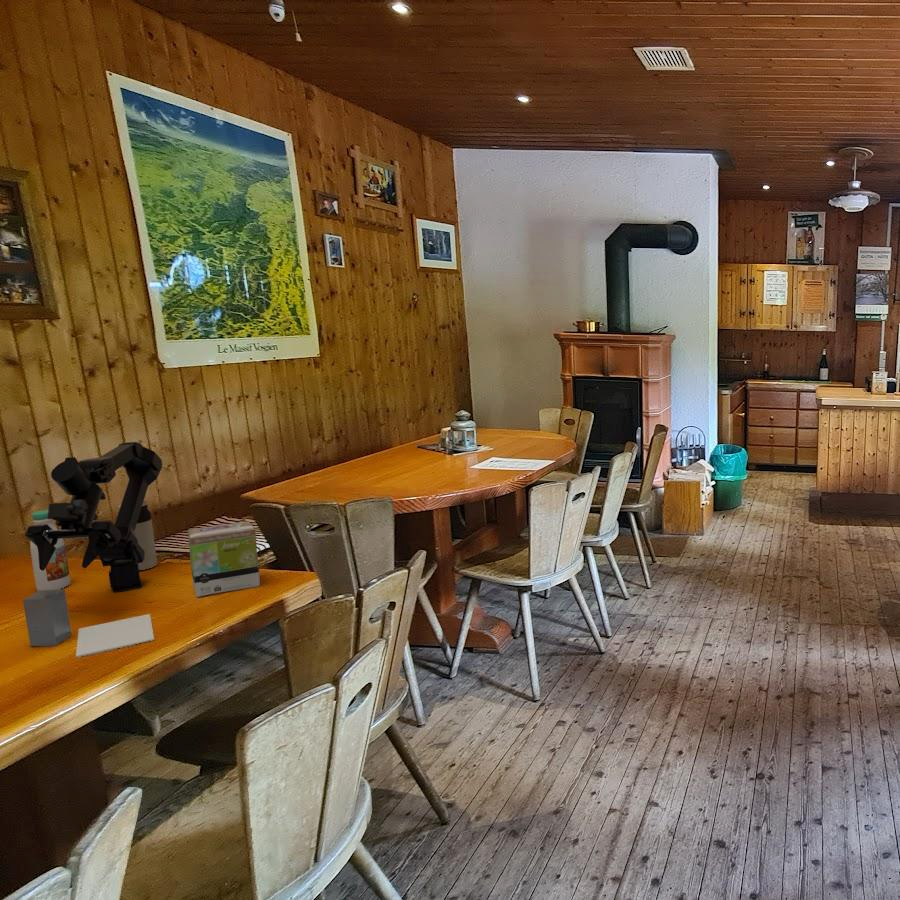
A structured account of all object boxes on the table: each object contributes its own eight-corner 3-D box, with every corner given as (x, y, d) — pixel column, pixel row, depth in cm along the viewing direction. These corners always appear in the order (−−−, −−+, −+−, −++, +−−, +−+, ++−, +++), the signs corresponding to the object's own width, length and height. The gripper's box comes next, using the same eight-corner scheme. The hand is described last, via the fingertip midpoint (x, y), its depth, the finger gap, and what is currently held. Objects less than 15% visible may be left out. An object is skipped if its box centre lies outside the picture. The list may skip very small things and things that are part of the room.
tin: (46, 636, 147) (39, 590, 146) (71, 634, 147) (64, 589, 145) (30, 647, 142) (22, 599, 140) (56, 645, 142) (49, 598, 140)
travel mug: (162, 566, 193) (154, 502, 190) (132, 574, 187) (123, 508, 184) (150, 561, 198) (142, 499, 196) (121, 568, 193) (112, 504, 190)
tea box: (196, 599, 164) (188, 538, 162) (193, 586, 173) (186, 528, 171) (261, 586, 170) (255, 527, 168) (255, 575, 179) (249, 519, 177)
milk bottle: (35, 595, 175) (23, 517, 172) (37, 586, 182) (25, 511, 179) (70, 588, 178) (58, 511, 176) (71, 580, 185) (60, 506, 182)
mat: (150, 615, 155) (149, 613, 155) (154, 640, 141) (154, 638, 141) (79, 630, 149) (78, 628, 149) (76, 658, 135) (75, 656, 135)
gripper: (23, 489, 153) (-3, 553, 144) (107, 484, 152) (87, 548, 143) (50, 516, 162) (27, 577, 152) (129, 511, 161) (111, 572, 152)
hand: (62, 568), depth 150 cm, fingers open, 9 cm apart
